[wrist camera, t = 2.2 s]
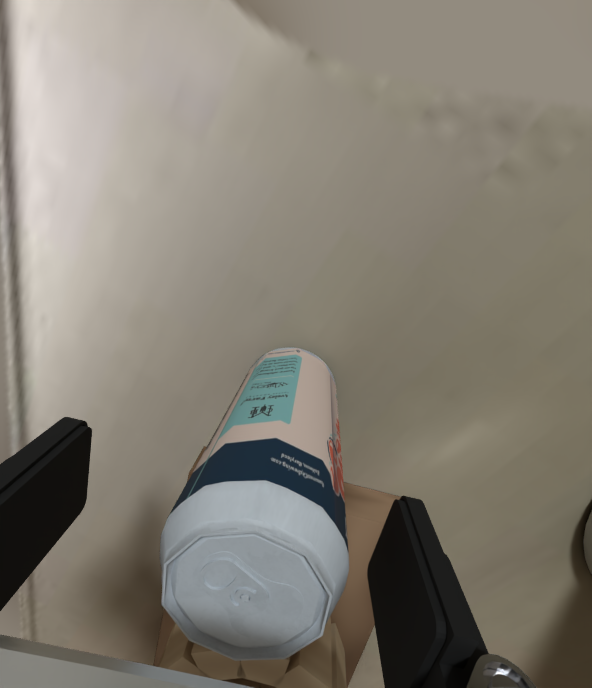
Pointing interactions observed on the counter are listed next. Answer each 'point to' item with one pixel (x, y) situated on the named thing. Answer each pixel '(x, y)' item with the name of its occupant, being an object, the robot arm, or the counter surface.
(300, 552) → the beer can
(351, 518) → the board
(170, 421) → the counter surface
